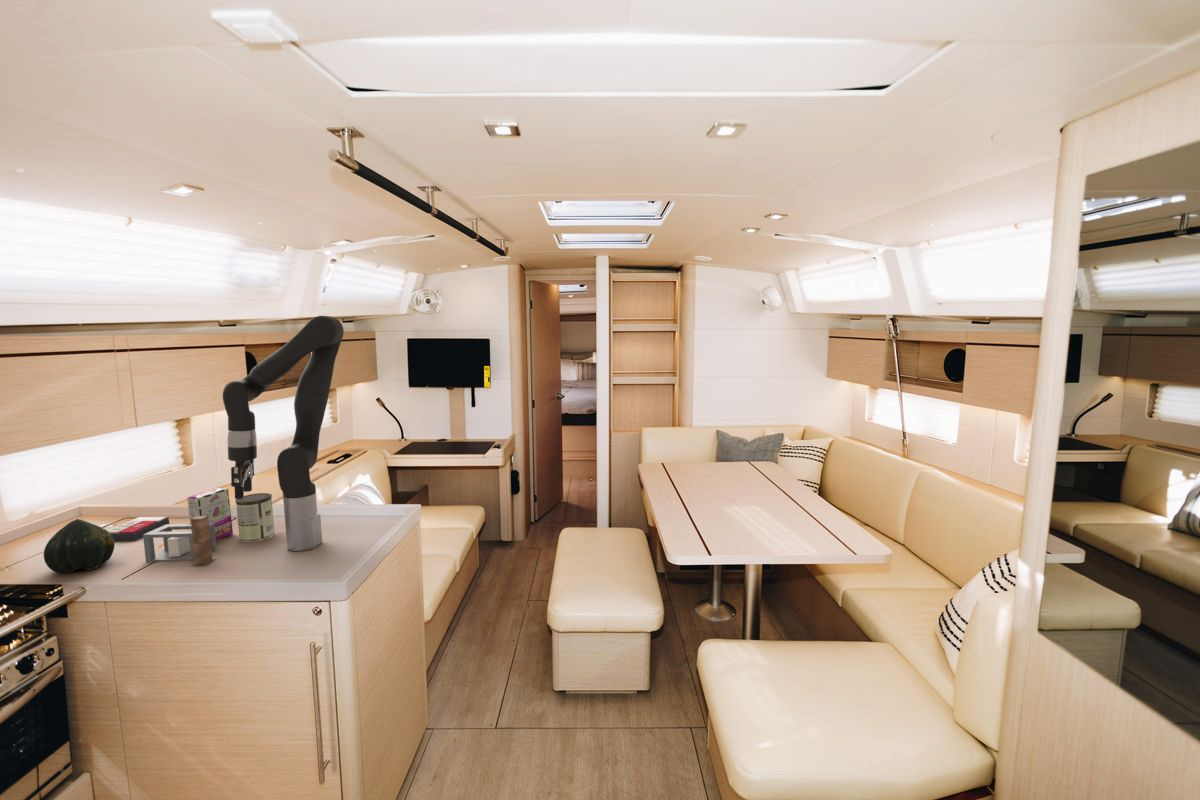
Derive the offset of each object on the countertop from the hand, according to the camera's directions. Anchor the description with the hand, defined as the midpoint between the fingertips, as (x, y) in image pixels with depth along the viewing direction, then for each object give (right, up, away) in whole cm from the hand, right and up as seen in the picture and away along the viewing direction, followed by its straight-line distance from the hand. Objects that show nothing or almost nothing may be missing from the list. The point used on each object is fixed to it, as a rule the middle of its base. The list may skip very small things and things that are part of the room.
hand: (243, 494), depth 169 cm
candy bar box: (-18, -17, +12) cm, 28 cm away
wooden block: (-7, -19, -8) cm, 22 cm away
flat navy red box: (-50, -17, +19) cm, 56 cm away
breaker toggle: (-18, -18, -2) cm, 26 cm away
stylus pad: (-7, -19, -8) cm, 22 cm away
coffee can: (-4, -17, +14) cm, 22 cm away
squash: (-41, -20, -10) cm, 47 cm away
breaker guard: (-18, -19, -2) cm, 26 cm away
